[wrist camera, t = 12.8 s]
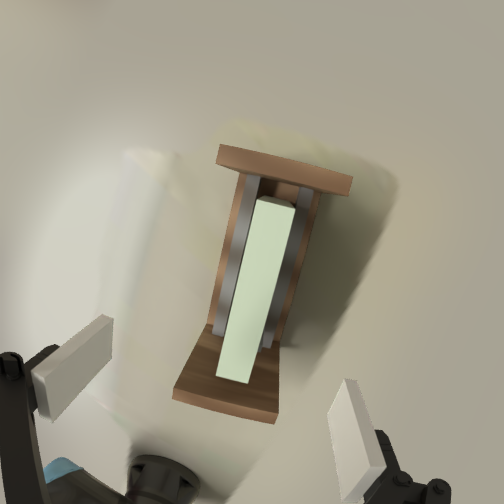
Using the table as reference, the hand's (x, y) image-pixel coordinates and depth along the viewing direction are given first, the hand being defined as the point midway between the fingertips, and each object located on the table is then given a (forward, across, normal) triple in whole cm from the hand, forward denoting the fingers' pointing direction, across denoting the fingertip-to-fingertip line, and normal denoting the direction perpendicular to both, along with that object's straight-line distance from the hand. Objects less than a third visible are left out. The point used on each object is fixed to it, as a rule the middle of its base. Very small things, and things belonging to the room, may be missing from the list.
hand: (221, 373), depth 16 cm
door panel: (+24, -1, -1) cm, 24 cm away
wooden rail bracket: (+25, -1, -1) cm, 25 cm away
